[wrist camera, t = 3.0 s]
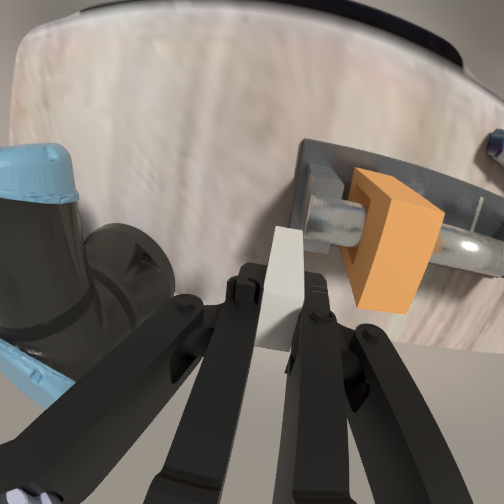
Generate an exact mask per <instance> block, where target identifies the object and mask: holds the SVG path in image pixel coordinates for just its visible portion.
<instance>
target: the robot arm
mask: <svg viewBox="0 0 504 504" xmlns="http://www.w3.org/2000/svg"><path fill="white" fill-rule="evenodd" d="M77 200H79V193H78V192H77V190H76V187H75V181H74V174H73V167H72V160H71V156H70V154H69V152H68V151H67V150H66V149H65V148H64V147H63V146H62V145H60V144H57V143H37V144H26V145H15V146H7V147H0V371H1V372H2V373H3V374H4V375H5V376H6V377H7V378H8V379H9V380H10V381H11V382H12V383H13V384H14V385H15V386H16V387H17V388H18V389H19V390H20V391H22V392H23V393H24V394H25V395H27V396H28V397H29V398H30V399H32V400H33V401H35V402H36V403H37V404H39V405H40V406H42V407H43V408H45V409H46V410H45V411H44V412H43V413H42V414H41V415H40V416H39V417H38V418H37V419H36V420H34V421H33V422H32V423H31V424H30V425H29V426H28V427H27V428H26V429H25V430H24V431H23V432H22V433H21V434H20V435H19V436H17V437H16V438H15V439H14V440H11V441H9V442H7V443H4V444H1V445H0V504H80V503H81V502H82V501H84V500H85V499H86V498H87V497H88V496H89V495H90V494H91V493H92V492H93V491H94V490H95V488H97V486H98V485H99V484H100V483H101V482H102V481H103V479H104V478H105V477H106V476H107V475H108V474H109V472H110V471H111V470H112V469H113V468H114V467H115V465H116V464H117V463H118V462H119V461H120V459H121V458H122V457H123V456H124V455H125V453H126V452H127V451H128V450H129V449H130V448H131V446H132V445H133V444H134V443H135V441H136V440H137V439H138V438H139V436H141V434H142V433H143V432H144V431H145V429H146V428H147V427H148V426H149V424H150V423H151V422H152V421H153V420H154V418H155V417H156V416H157V415H158V413H159V412H160V411H161V410H162V409H163V407H164V406H165V405H166V404H167V402H168V401H169V400H170V399H171V397H172V396H173V395H174V394H175V392H176V391H177V390H178V389H179V387H180V386H181V385H182V384H183V382H184V381H185V380H186V379H187V377H188V376H189V375H190V374H191V372H192V371H193V370H194V368H195V367H196V366H197V365H198V363H199V362H200V361H201V359H202V357H204V358H203V361H202V364H201V367H200V369H199V372H198V375H197V377H196V380H195V382H194V385H193V388H192V390H191V393H190V396H189V399H188V402H187V404H186V407H185V409H184V412H183V415H182V418H181V420H180V423H179V426H178V428H177V431H176V434H175V436H174V439H173V442H172V445H171V447H170V450H169V453H168V456H167V458H166V461H165V464H164V466H163V468H162V470H161V472H160V473H158V474H157V475H156V476H155V477H154V479H153V480H152V482H151V484H150V487H149V489H148V492H147V495H146V497H145V500H144V503H143V504H220V500H221V495H222V491H223V487H224V483H225V478H226V474H227V470H228V465H229V461H230V457H231V452H232V448H233V443H234V439H235V434H236V430H237V425H238V420H239V416H240V411H241V406H242V402H243V397H244V392H245V388H246V383H247V378H248V374H249V368H250V363H251V359H252V354H253V348H254V346H256V347H262V348H267V349H273V350H280V351H286V352H289V351H290V348H291V354H290V357H289V360H288V364H287V367H286V370H285V373H286V374H287V382H286V393H285V403H284V413H283V423H282V432H281V441H280V449H279V457H278V465H277V473H276V481H275V488H274V495H273V502H272V504H357V503H356V502H355V501H354V500H352V499H351V497H350V494H349V454H348V453H349V452H348V431H347V419H348V422H349V424H350V428H351V430H352V433H353V436H354V439H355V442H356V445H357V448H358V451H359V454H360V457H361V460H362V463H363V466H364V469H365V472H366V476H367V479H368V482H369V485H370V488H371V491H372V494H373V498H374V501H375V504H473V501H472V499H471V496H470V494H469V492H468V489H467V487H466V485H465V482H464V480H463V477H462V476H461V473H460V471H459V469H458V467H457V464H456V462H455V460H454V458H453V455H452V453H451V451H450V449H449V447H448V445H447V443H446V441H445V439H444V437H443V435H442V433H441V431H440V429H439V427H438V425H437V423H436V421H435V419H434V417H433V415H432V414H431V411H430V410H429V408H428V406H427V404H426V402H425V400H424V398H423V397H422V395H421V393H420V391H419V389H418V387H417V386H416V384H415V382H414V380H413V379H412V377H411V375H410V373H409V371H408V370H407V368H406V366H405V365H404V363H403V362H402V359H401V358H400V356H399V354H398V353H397V351H396V349H395V348H394V346H393V344H392V343H391V341H390V339H389V338H388V336H387V334H386V333H385V332H384V331H383V330H382V329H381V328H379V327H378V326H375V325H372V324H360V325H359V326H357V327H356V329H355V330H352V329H350V328H347V327H345V326H342V325H340V324H339V323H337V319H336V316H335V314H334V313H333V312H332V311H331V310H330V304H329V296H328V289H327V282H326V280H325V278H324V277H323V276H322V274H317V273H311V272H305V271H304V255H303V231H302V230H297V229H291V228H285V227H279V226H276V228H275V233H274V238H273V243H272V248H271V253H270V258H269V263H268V266H266V265H260V264H255V263H249V262H247V263H246V264H244V265H243V266H242V267H241V269H240V271H239V274H238V276H234V277H231V278H230V279H229V280H228V281H227V289H226V300H225V302H224V303H222V304H218V305H203V301H202V300H201V299H200V298H198V297H197V296H195V295H191V294H180V295H176V296H174V292H175V278H174V273H173V269H172V267H171V264H170V262H169V260H168V258H167V256H166V255H165V253H164V252H163V250H162V249H161V248H160V246H159V245H158V244H157V243H156V242H155V241H154V240H153V239H152V238H151V237H149V236H148V235H147V234H145V233H144V232H142V231H141V230H139V229H137V228H135V227H132V226H130V225H126V224H120V223H113V224H107V225H104V226H102V227H100V228H99V229H97V230H96V231H94V232H93V233H92V234H90V235H89V236H88V237H87V238H86V239H85V241H84V238H83V233H82V228H81V222H80V216H79V209H78V202H77ZM173 296H174V297H173Z"/></svg>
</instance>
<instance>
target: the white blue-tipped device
mask: <svg viewBox="0 0 504 504" xmlns="http://www.w3.org/2000/svg"><path fill="white" fill-rule="evenodd" d="M487 152H488V155H490V156H491V157H492V158H493V159H495V160H496V161H497V162H498V163H500V164H501V165H502V166H503V169H504V130H503V129H496V130H495V131H494V132H493V133H492V135H491V137H490V140H489V143H488V146H487Z"/></svg>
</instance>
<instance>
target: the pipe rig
mask: <svg viewBox="0 0 504 504" xmlns="http://www.w3.org/2000/svg"><path fill="white" fill-rule="evenodd" d="M355 167H356V168H361V169H365V170H369V171H373V172H377V173H381V174H385V175H389V176H393V177H394V178H396V179H397V180H399V181H400V182H402V183H403V184H405V185H406V186H408V187H409V188H411V189H412V190H414V191H415V192H417V193H418V194H419V195H421V196H422V197H424V198H425V199H426V200H428V201H429V202H431V203H432V204H433V205H435V206H436V207H437V208H439V209H440V210H441V211H443V212H444V213H445V216H444V219H443V222H442V225H441V228H440V231H439V234H438V237H437V240H436V243H435V246H434V249H433V252H432V254H431V257H430V260H429V262H428V263H429V264H434V265H439V266H444V267H449V268H454V269H459V270H463V271H468V272H473V273H478V274H482V275H487V276H492V277H496V278H498V277H502V278H504V198H503V197H501V196H499V195H496V194H494V193H492V192H489V191H487V190H485V189H482V188H480V187H477V186H475V185H472V184H470V183H467V182H464V181H462V180H459V179H456V178H454V177H451V176H448V175H445V174H442V173H439V172H436V171H433V170H430V169H427V168H424V167H421V166H418V165H414V164H411V163H408V162H404V161H401V160H397V159H394V158H390V157H387V156H383V155H379V154H375V153H371V152H367V151H363V150H359V149H355V148H350V147H346V146H341V145H337V144H332V143H327V142H322V141H317V140H311V139H306V138H305V139H304V145H303V151H302V158H301V164H300V170H299V176H298V182H297V188H296V194H295V199H294V205H293V211H292V216H291V222H290V228H291V229H297V230H302V231H303V251H309V252H315V253H321V254H326V255H328V254H329V250H330V246H331V245H334V246H339V245H343V246H348V247H354V248H358V247H359V243H360V240H361V236H362V233H363V229H364V225H365V222H366V218H367V214H368V210H369V206H370V205H366V204H362V203H357V202H352V201H348V197H349V192H350V187H351V183H352V178H353V173H354V168H355Z"/></svg>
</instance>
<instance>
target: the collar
mask: <svg viewBox="0 0 504 504" xmlns="http://www.w3.org/2000/svg"><path fill="white" fill-rule="evenodd" d="M348 201H352V202H357V203H362V204H366V205H370V206H369V210H368V214H367V218H366V222H365V225H364V229H363V233H362V236H361V240H360V243H359V247H358V248H354V247H348V246H343V245H339V247H340V250H341V253H342V257H343V260H344V263H345V267H346V270H347V273H348V277H349V280H350V284H351V288H352V291H353V295H354V299H355V302H356V306H357V308H360V309H368V310H375V311H383V312H390V313H398V314H407V312H408V309H409V307H410V305H411V303H412V301H413V298H414V296H415V294H416V292H417V289H418V287H419V285H420V282H421V280H422V277H423V275H424V272H425V270H426V267H427V265H428V262H429V260H430V257H431V254H432V252H433V249H434V246H435V243H436V240H437V237H438V234H439V231H440V228H441V225H442V222H443V219H444V216H445V213H444V212H443V211H441V210H440V209H439V208H437V207H436V206H435V205H433V204H432V203H431V202H429V201H428V200H426V199H425V198H424V197H422V196H421V195H419V194H418V193H417V192H415V191H414V190H412V189H411V188H409V187H408V186H406V185H405V184H403V183H402V182H400V181H399V180H397V179H396V178H394V177H393V176H389V175H385V174H381V173H377V172H373V171H369V170H365V169H361V168H356V167H355V168H354V173H353V178H352V183H351V187H350V192H349V197H348Z"/></svg>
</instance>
